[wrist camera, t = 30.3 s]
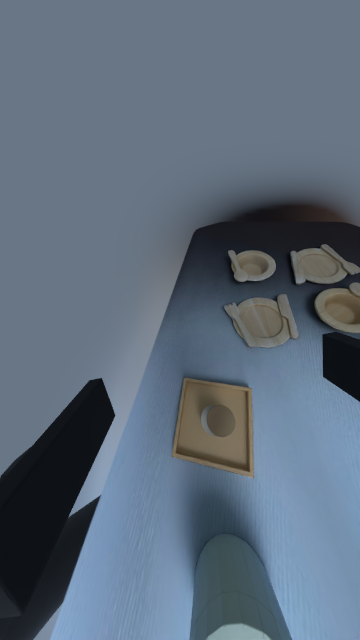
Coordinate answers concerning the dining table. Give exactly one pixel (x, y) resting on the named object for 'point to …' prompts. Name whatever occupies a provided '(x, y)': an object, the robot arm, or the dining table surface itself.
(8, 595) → the robot arm
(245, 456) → the tray
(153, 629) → the dining table surface
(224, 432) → the wooden pestle
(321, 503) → the dining table surface
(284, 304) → the tableware set
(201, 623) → the green cylindrical container
